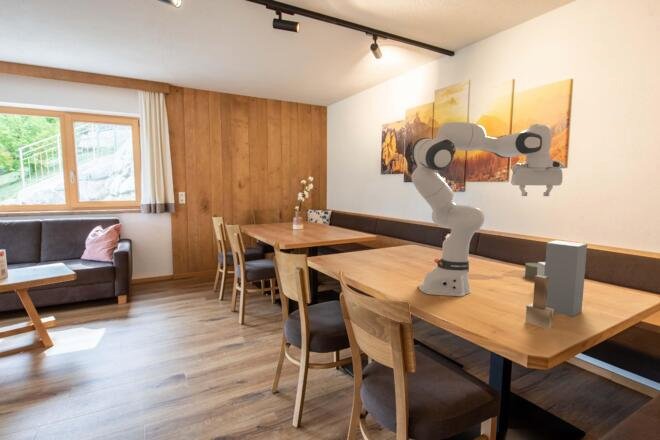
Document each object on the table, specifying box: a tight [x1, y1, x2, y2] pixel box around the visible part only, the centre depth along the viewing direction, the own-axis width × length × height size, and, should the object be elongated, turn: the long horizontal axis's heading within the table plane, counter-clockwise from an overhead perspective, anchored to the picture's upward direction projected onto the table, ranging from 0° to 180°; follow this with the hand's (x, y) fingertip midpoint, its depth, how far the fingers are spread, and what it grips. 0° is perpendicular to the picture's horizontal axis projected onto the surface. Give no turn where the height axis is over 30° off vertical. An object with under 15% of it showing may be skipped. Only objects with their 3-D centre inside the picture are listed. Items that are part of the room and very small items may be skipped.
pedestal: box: [544, 239, 588, 318], centre depth 127 cm, size 10×10×26 cm
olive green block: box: [524, 262, 538, 281], centre depth 174 cm, size 12×12×7 cm
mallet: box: [525, 275, 555, 330], centre depth 114 cm, size 17×7×4 cm
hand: (535, 196), depth 144 cm, fingers open, 8 cm apart
